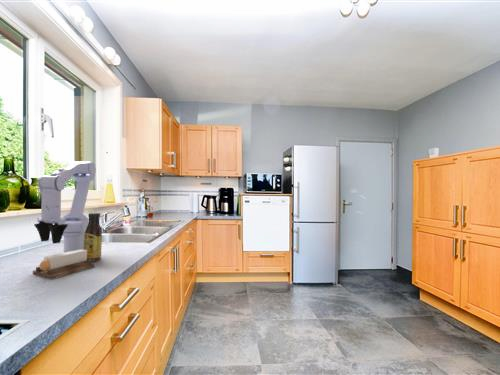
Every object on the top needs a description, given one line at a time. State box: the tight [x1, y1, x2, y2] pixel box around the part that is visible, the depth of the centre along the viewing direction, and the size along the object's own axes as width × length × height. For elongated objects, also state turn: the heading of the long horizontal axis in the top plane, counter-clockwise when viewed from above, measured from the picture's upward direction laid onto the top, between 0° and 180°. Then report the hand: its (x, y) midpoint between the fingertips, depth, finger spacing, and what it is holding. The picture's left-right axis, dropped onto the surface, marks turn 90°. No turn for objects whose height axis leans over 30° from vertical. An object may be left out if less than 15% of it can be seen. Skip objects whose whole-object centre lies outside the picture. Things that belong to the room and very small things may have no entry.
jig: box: [32, 259, 96, 280], centre depth 87 cm, size 14×12×2 cm
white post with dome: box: [39, 249, 87, 272], centre depth 86 cm, size 14×4×5 cm, turn 156°
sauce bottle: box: [84, 212, 103, 263], centre depth 99 cm, size 6×6×20 cm
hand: (50, 241), depth 91 cm, fingers open, 7 cm apart
